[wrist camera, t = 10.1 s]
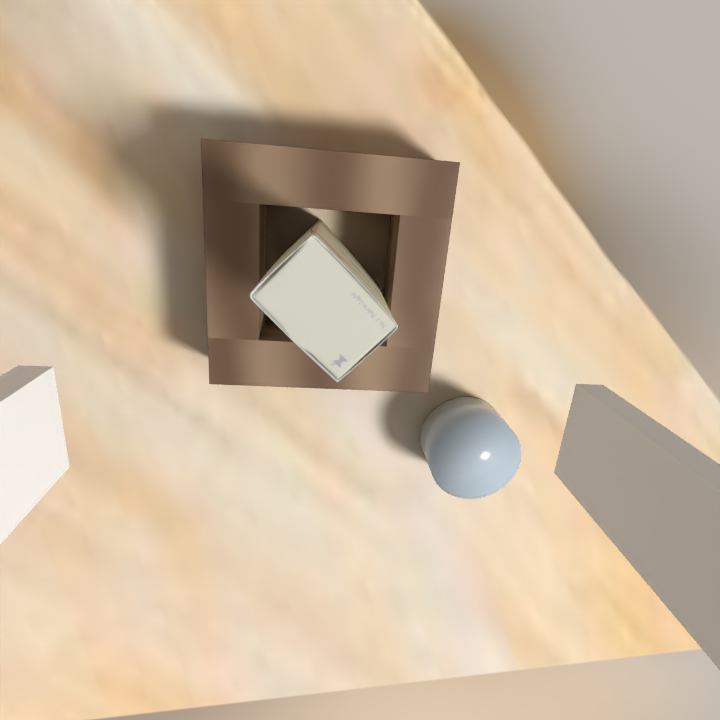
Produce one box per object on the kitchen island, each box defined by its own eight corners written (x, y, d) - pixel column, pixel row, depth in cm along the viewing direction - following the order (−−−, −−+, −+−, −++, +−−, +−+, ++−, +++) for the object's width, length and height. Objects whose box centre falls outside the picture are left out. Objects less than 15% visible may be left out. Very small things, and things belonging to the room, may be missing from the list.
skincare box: (377, 282, 34) (406, 328, 22) (332, 322, 34) (339, 387, 23) (317, 215, 32) (316, 229, 20) (271, 259, 33) (245, 297, 21)
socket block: (221, 363, 35) (209, 384, 31) (215, 145, 30) (201, 138, 26) (416, 371, 36) (427, 392, 33) (442, 165, 31) (459, 162, 28)
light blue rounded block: (415, 469, 40) (425, 498, 36) (425, 394, 37) (437, 417, 34) (494, 470, 40) (511, 499, 37) (508, 397, 38) (529, 420, 34)
